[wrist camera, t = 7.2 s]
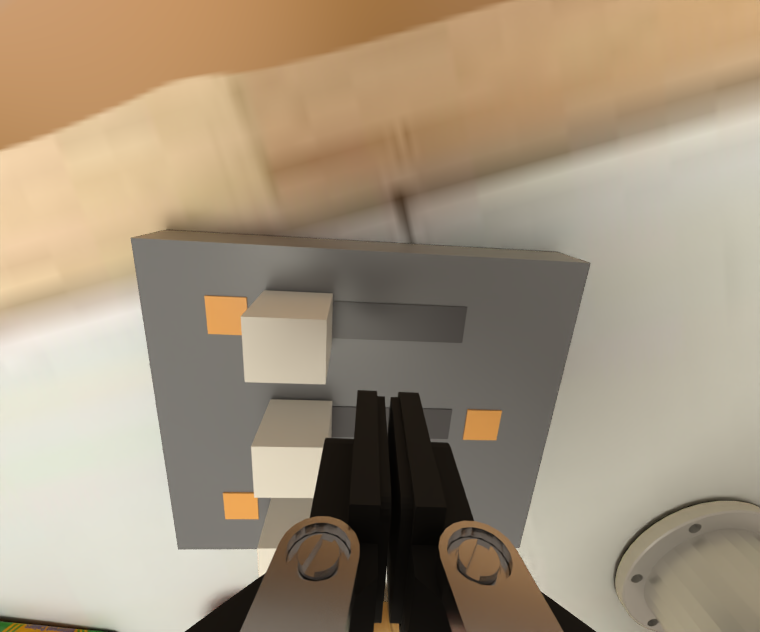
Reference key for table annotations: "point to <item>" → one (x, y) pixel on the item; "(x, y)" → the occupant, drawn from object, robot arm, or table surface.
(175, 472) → the switch bank
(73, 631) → the chalk box
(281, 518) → the tab far
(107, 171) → the table surface
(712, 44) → the table surface
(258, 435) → the tab middle
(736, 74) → the table surface
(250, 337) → the tab near
